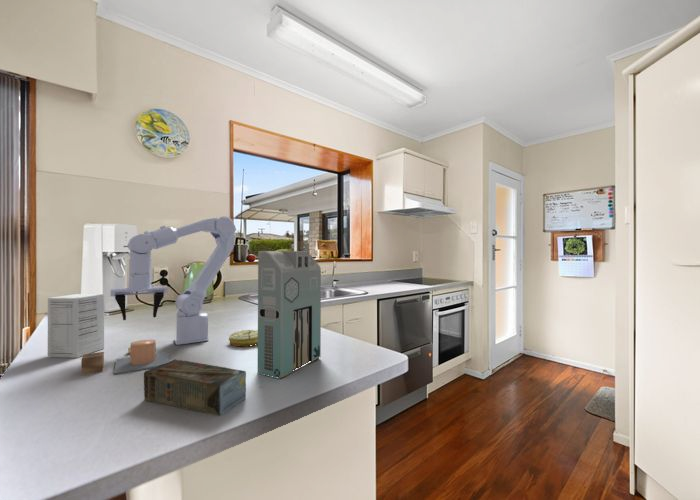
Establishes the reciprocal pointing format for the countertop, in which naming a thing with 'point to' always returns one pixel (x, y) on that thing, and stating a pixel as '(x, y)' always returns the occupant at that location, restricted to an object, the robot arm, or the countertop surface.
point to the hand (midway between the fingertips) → (139, 318)
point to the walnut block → (92, 363)
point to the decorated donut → (244, 338)
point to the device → (288, 311)
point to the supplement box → (75, 325)
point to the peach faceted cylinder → (142, 352)
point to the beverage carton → (195, 386)
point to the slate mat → (125, 366)
